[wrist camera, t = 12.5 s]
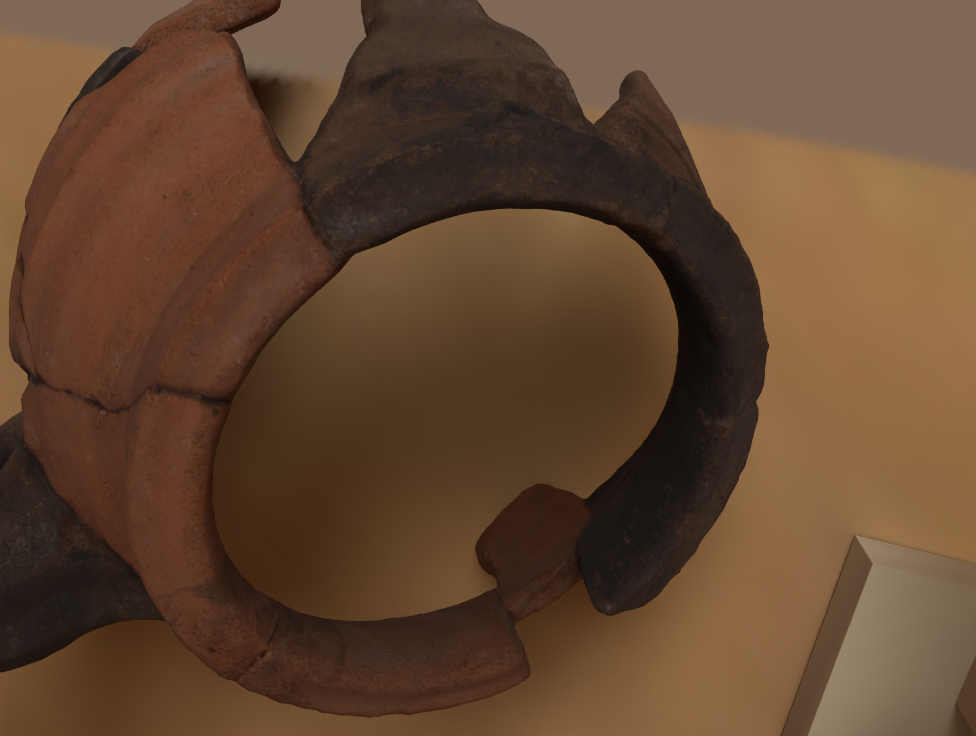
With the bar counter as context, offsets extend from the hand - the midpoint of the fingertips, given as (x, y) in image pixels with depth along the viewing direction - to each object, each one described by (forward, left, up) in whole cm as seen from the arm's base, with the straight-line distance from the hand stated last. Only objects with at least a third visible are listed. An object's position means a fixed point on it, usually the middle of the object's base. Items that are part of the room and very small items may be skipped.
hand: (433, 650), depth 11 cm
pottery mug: (-3, +3, -5) cm, 6 cm away
